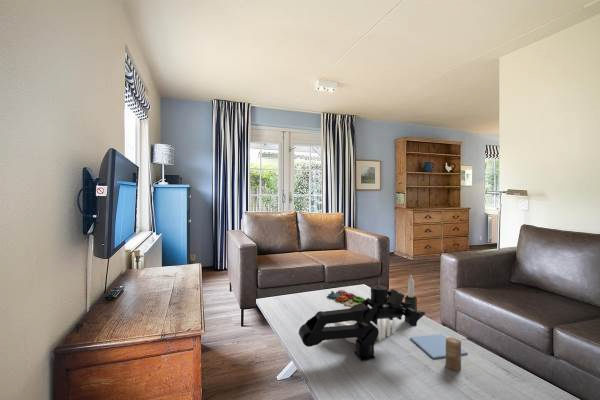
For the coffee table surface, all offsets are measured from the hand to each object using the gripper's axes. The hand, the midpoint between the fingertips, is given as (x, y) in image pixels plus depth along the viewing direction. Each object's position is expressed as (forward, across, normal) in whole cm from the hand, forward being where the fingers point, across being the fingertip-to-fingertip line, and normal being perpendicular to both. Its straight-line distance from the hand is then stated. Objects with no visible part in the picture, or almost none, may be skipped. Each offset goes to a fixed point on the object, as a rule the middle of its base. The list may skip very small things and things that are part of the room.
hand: (417, 308), depth 122 cm
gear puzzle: (-5, +56, +18) cm, 59 cm away
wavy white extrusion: (-14, +16, +18) cm, 28 cm away
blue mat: (+9, -2, +16) cm, 19 cm away
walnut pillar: (+5, -16, +16) cm, 23 cm away
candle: (+13, +21, +16) cm, 30 cm away
